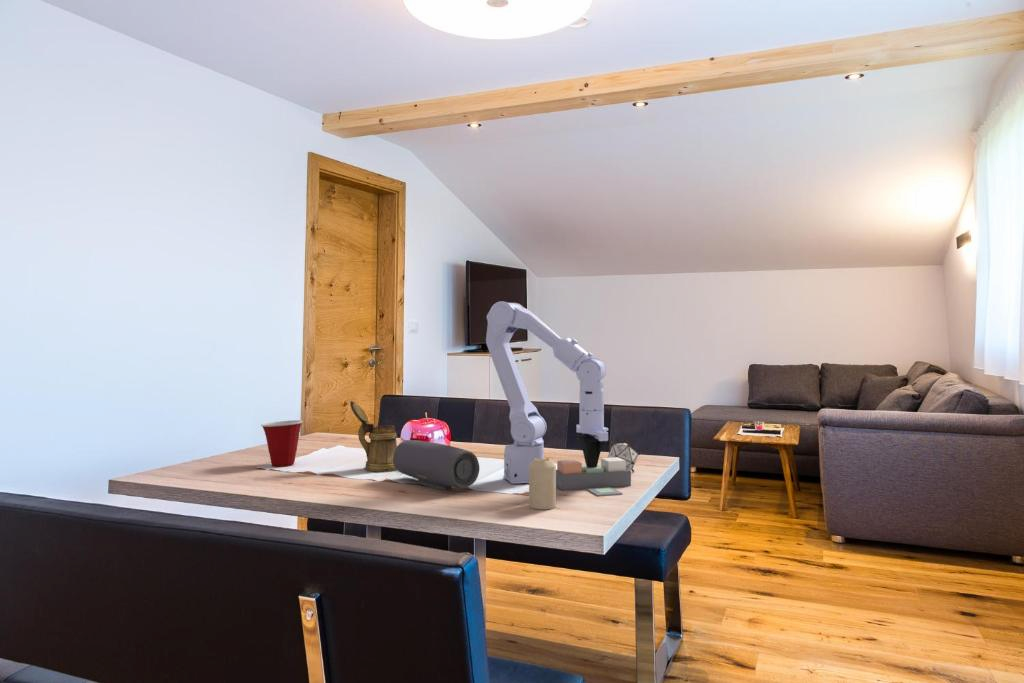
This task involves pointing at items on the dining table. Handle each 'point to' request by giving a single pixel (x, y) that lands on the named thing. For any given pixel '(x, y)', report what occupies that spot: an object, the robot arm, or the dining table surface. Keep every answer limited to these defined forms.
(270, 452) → the plastic cup
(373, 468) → the wooden mug
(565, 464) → the terracotta button
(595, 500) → the dining table surface
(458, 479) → the bluetooth speaker
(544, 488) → the candle
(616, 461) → the cream button
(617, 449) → the game die
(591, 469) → the sage button
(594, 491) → the card
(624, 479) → the button bar
